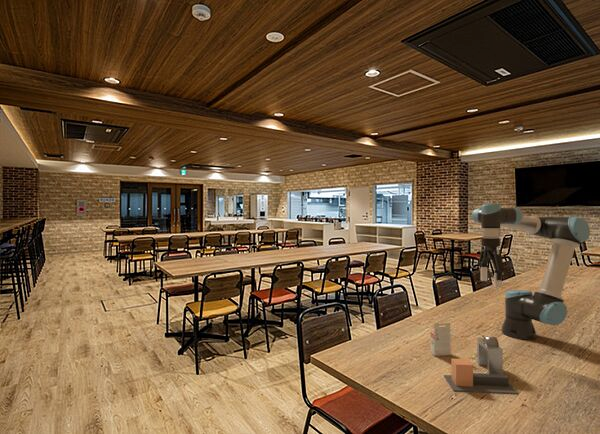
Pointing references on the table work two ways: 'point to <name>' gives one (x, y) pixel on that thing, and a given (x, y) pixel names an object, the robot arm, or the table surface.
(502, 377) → the plug
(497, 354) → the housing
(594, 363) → the table surface
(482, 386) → the mat
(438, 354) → the ink box
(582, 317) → the table surface
